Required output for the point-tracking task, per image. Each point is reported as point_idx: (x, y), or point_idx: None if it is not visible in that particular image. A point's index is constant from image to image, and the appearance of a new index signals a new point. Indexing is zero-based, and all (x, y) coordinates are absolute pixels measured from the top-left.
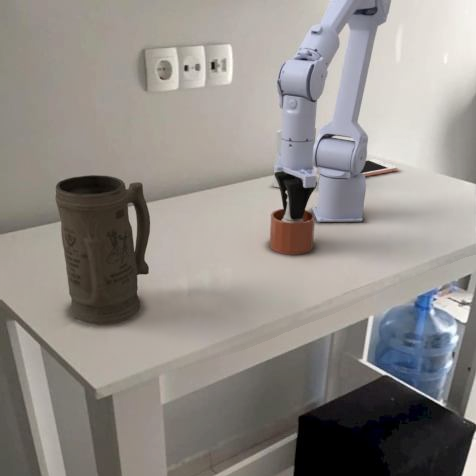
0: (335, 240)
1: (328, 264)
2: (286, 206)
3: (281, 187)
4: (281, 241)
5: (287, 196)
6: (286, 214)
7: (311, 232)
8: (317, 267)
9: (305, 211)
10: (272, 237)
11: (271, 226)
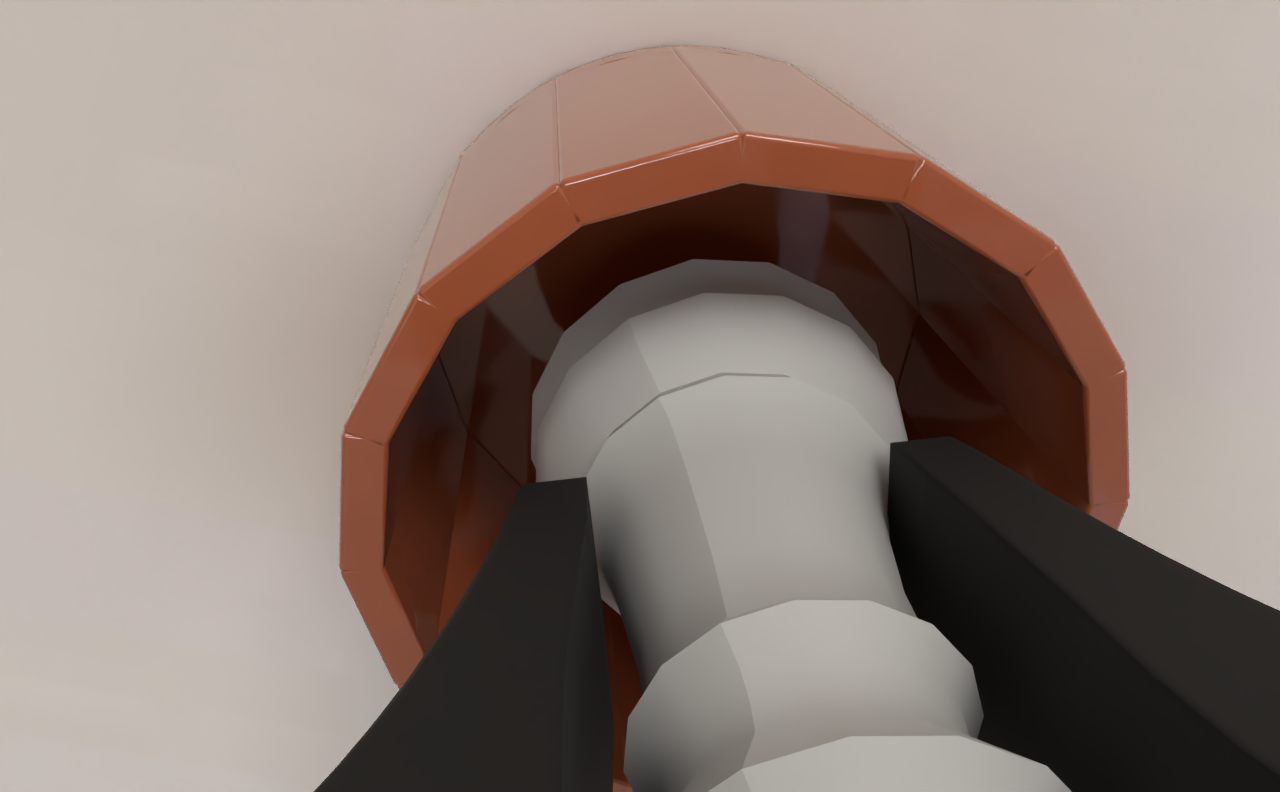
0: None
1: (135, 575)
2: (932, 525)
3: (1216, 732)
4: (455, 182)
5: (1038, 679)
6: (716, 442)
7: None
8: (45, 458)
9: None
10: (633, 79)
11: (705, 96)
